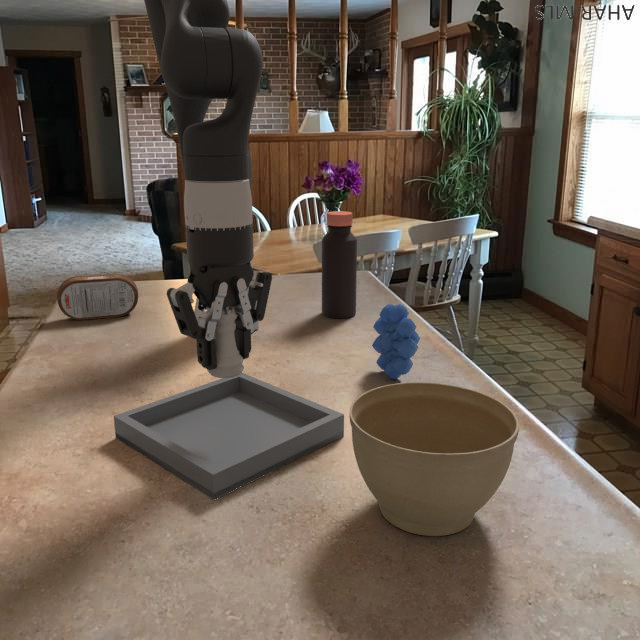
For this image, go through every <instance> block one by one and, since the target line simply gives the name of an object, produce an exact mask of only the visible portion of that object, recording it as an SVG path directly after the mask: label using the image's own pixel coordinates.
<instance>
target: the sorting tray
mask: <svg viewBox="0 0 640 640" xmlns="http://www.w3.org/2000/svg"><path fill="white" fill-rule="evenodd" d="M113 422H114V435H115V439H116V440H118V441H120V442H122V443H123V444H125V445H127V446H128V447H130V448H131V449H133V450H134V451H136V452H137V453H139V454H141V455H142V456H144V457H146V458H147V459H148V460H150V461H152V462H153V463H154V464H156V465H158V466H159V467H161V468H163V469H164V470H166V471H167V472H169V473H170V474H172V475H174V476H175V477H177V478H178V479H180V480H182V481H183V482H185V483H186V484H188V485H189V486H191V487H193V488H194V489H196V490H198V492H200V493H202V492H203V493H202V494H204V495H205V494H206V496H207V497H208V496H209V498H210V497H211V498H210V499H211V500H213V499H214V500H213V501H216V500H218V499H220V498H222V497H224V496H226V495H228V494H230V493H232V492H234V491H236V490H237V489H236V488H238V489H240V488H241V487H240V486H242V487H244V486H246V485H248V484H250V483H249V482H251V481H253V480H255V479H257V478H259V477H261V478H262V476H263V475H265V476H266V474H267V475H268V473H269V474H271V473H272V472H275V471H276V470H279V469H281V468H283V467H285V466H288V465H289V464H291V463H293V462H295V461H297V460H299V459H301V458H303V457H305V456H307V455H310V454H312V453H313V452H315V451H317V450H319V449H322V448H323V447H325V446H328V445H330V444H331V443H334V442H336V441H338V440H340V439H342V438H344V437H345V434H344V433H345V414H344V413H342V412H339V411H336V410H334V409H331V408H329V407H327V406H324V405H322V404H319V403H317V402H314V401H312V400H309V399H307V398H305V397H303V396H300V395H297V394H295V393H292V392H290V391H288V390H285V389H283V388H280V387H278V386H276V385H273V384H270V383H268V382H265V381H263V380H261V379H258V378H257V377H254V376H251V375H249V374H246V373H243V372H242V373H241V374H239V375H238V376H235V377H230V378H218V379H216V380H214V381H211V382H208V383H205V384H202V385H200V386H197V387H194V388H190V389H187V390H185V391H182V392H178V393H177V394H174V395H173V394H172V395H171V396H166V397H164V398H161V399H158V400H156V401H153V402H152V401H151V402H150V403H148V404H143V405H141V406H139V407H135V408H132V409H129V410H126V411H124V412H121V413H118V414H115V415H113ZM270 472H271V473H270ZM263 477H264V476H263ZM259 479H260V478H259ZM257 480H258V479H257ZM255 481H256V480H255ZM253 482H254V481H253ZM247 483H248V484H247ZM251 483H252V482H251ZM245 484H246V485H245ZM243 485H244V486H243ZM239 487H240V488H239ZM235 489H236V490H235ZM233 490H234V491H233ZM231 491H232V492H231ZM229 492H230V493H229ZM227 493H228V494H227ZM225 494H226V495H225ZM223 495H224V496H223ZM221 496H222V497H221ZM219 497H220V498H219ZM217 498H218V499H217ZM215 499H216V500H215Z"/></svg>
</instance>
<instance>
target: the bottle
mask: <svg viewBox="0 0 640 640" xmlns="http://www.w3.org/2000/svg"><path fill="white" fill-rule="evenodd" d="M353 218H354V217H353V212H352V211H344V210H342V211H341V210H334V211H329V212H326V228H328V232H327V233H326V234H324V236H323V237H322V239H321V314H322V315H323V316H325V317H327V318H331V319H347V318H352V317H354V316H355V315H356V313H357V273H358V272H357V265H358V264H357V263H358V239H357V237H356V236H355V235H354V234H353V233H352V232H351V230H352V229H351V228H353Z"/></svg>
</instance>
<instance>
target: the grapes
mask: <svg viewBox="0 0 640 640" xmlns="http://www.w3.org/2000/svg"><path fill="white" fill-rule="evenodd" d="M409 315H410V313H409V311H408V309H407V307H406V306H405V305H403V304H401V303H399V304H395V305H394V304H393V303H388V304H385V306H384V307H383V308H382V309H381V311H380V312H379V318H378V319H376V320H375V323H374V324H373V329H374V331H375V332H376V333H377V334H378V336H377V337H376V338H375V339H374V341H373V343H372V345H371V347H372V348H373V350H375V351H376V352H377V354H380V355H379V356H378V358H377V359H376V361H375V363H376V364H377V366H378V367H379V368H380V369H381V370H382V371H383V372H384V373H385V375H387V377H388V378H390V379H391V380H397V379H399V378H400V377H401V376H404V375H407V374H408V373H409V372H410V371H411V369H412V367H413V364H414V363H413V361H412V359H411V358H412V357H414V356H415V354H416V353H417V351H418V349H419V346H418V344H419V342H420V340H421V337H420V335H419V333H418V332H417V331H416V328H417V325H416V324H415V322H414V321H413V320H412V318H409Z"/></svg>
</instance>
